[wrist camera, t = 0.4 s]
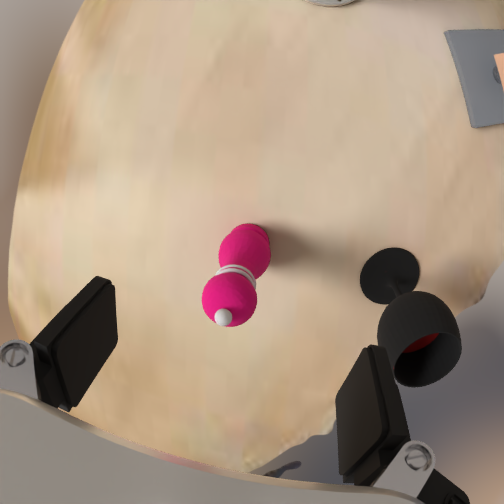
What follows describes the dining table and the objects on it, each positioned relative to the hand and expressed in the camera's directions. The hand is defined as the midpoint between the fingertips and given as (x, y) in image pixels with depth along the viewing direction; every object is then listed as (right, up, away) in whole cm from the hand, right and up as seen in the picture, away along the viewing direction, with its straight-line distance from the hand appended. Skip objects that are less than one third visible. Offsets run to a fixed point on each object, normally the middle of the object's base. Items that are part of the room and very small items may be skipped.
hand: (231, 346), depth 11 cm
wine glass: (+23, -1, +37) cm, 44 cm away
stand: (+38, +30, +21) cm, 53 cm away
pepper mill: (0, +5, +38) cm, 38 cm away
